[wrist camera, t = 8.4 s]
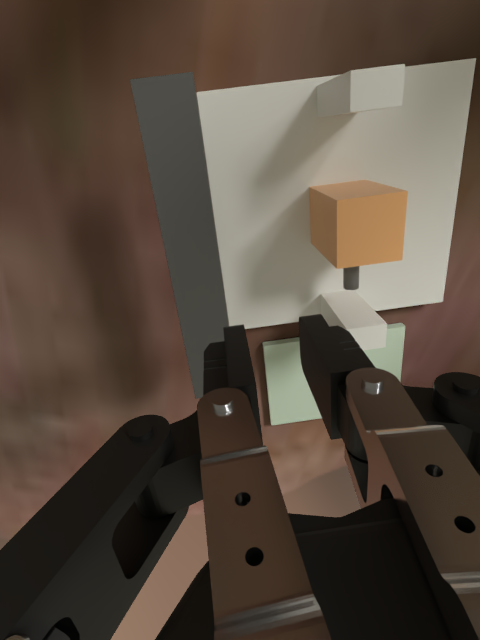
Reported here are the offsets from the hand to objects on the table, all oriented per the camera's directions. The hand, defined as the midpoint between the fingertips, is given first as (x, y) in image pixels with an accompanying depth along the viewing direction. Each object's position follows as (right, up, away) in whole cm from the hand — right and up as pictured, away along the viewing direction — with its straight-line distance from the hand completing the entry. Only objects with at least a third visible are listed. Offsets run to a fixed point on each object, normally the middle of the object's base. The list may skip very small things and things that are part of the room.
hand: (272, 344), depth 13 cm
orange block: (+7, +8, +18) cm, 21 cm away
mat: (+9, -5, +27) cm, 28 cm away
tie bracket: (+7, +10, +19) cm, 23 cm away
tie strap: (-4, +5, +11) cm, 13 cm away
